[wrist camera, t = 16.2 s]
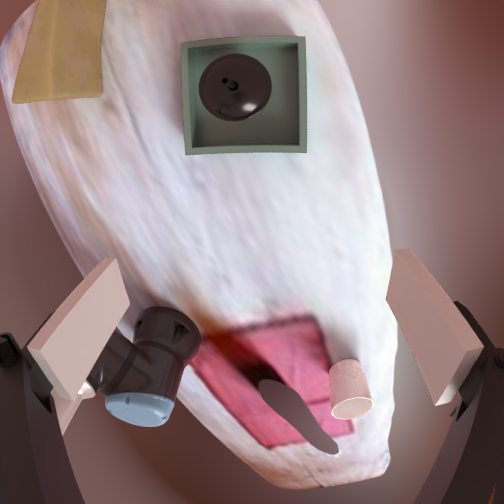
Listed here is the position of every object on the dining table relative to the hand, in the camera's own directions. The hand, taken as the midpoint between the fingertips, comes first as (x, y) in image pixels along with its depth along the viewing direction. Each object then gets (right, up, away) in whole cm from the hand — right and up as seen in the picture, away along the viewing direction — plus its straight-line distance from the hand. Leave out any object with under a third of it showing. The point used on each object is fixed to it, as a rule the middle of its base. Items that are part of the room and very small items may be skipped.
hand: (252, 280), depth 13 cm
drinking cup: (-1, +24, +26) cm, 35 cm away
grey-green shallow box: (-1, +25, +26) cm, 36 cm away
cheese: (-28, +38, +22) cm, 52 cm away
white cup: (+22, -27, +51) cm, 62 cm away
